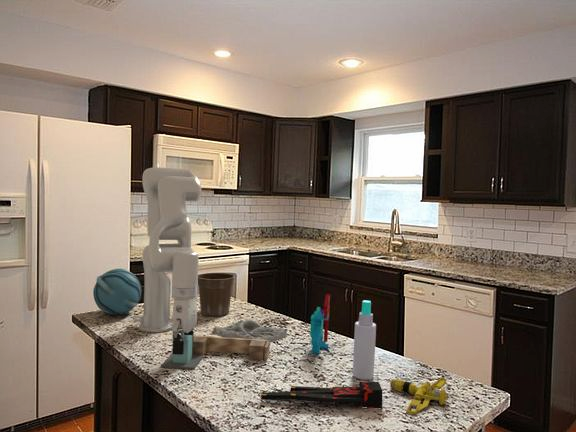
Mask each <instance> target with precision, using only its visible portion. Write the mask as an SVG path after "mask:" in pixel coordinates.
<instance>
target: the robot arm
mask: <svg viewBox="0 0 576 432" xmlns="http://www.w3.org/2000/svg"><path fill="white" fill-rule="evenodd" d="M142 188H143V192H144V194H145V198H146V201H147V215H146V219H147V220H146V225H147V226H146V228H147V229H146V230H147V231H146V232H147V236H148V237H149V242H148V245H146V246H145V247H144V248H143V249H142V255H141V257H142V263H143V276H144V277H143V278H144V280H143V281H144V282H143V283H144V285H143V287H144V289H143V314H142V315H137V314H135V315H133V316H132V318H133V319H132V320H133V322H134V323H137V322H139V324H138V329H139V330H140V331H141V332H145V333H162V332H163V333H164V332H168V331H170V330H172V339H171V340H172V347H171V349H172V352H171V354H177V355H183V353H184V341H183V337H184V335H193V336H192V344H193V337H194V335H195V334H194V332H195V331H194V330H195V327H196V326H197V323H198V321H197V320H198V313H197V310H198V309H197V308H198V306H197V305H198V304H197V298H198V291H199V286H198V275H199V254H198V252H196V251H195V250H194V248H192V223H191V220H190V218H189V217H188V212H187V204H186V203H187V202H198V201H199V200H200V199H201V197H202V185H201V182H200V180H199V177H197V176H196V175H195V174H194V173H193V171H192V170H189V169H187V168H185V169H184V168H171V167H150V168H149V167H148V168H146V169H145V170H144V171H143V173H142ZM160 241H176V242H177V243H160ZM167 273H172V276H171V278H170V277H169V275H168V274H167ZM171 298H172V300H173V306H172V316H171ZM171 317H172V320H171V319H170V318H171ZM180 335H181V337H180Z"/></svg>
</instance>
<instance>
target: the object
mask: <svg viewBox="0 0 576 432" xmlns="http://www.w3.org/2000/svg"><path fill="white" fill-rule="evenodd" d="M235 278H236V276H235V275H234V274H232V273H225V272H206V273H200V274H199V273H198V291H199V306H200V308H199V310H200V314H201V315H202V316H206V317H207V316H211V317H223V316H226V315H228V314H229V313H230V307H231V297H232V291H233V289H232V288H233V285H234V279H235Z"/></svg>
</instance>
